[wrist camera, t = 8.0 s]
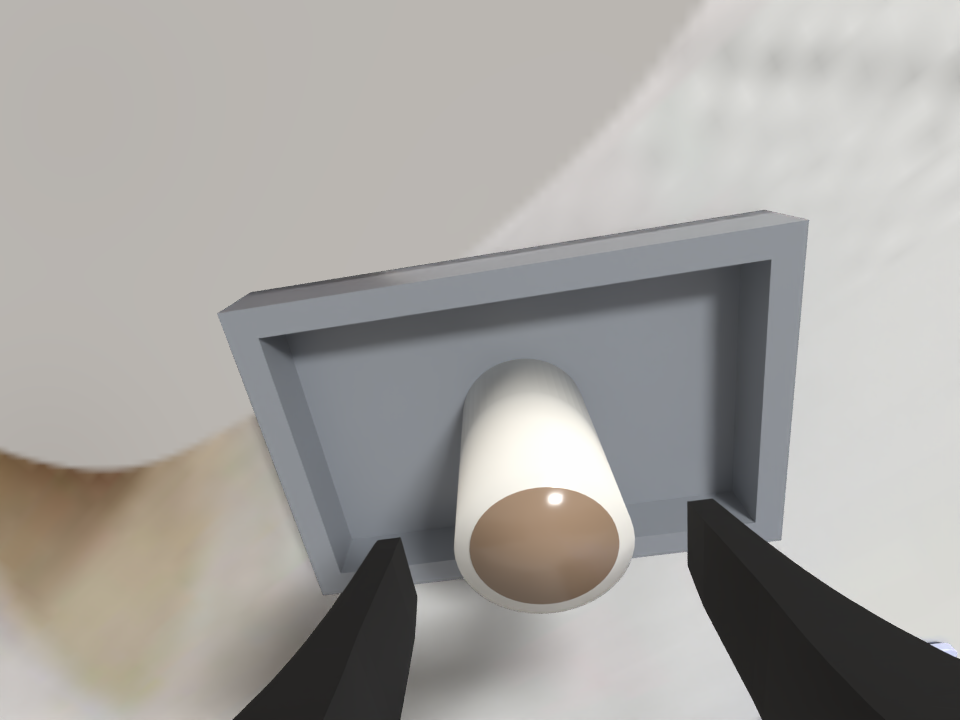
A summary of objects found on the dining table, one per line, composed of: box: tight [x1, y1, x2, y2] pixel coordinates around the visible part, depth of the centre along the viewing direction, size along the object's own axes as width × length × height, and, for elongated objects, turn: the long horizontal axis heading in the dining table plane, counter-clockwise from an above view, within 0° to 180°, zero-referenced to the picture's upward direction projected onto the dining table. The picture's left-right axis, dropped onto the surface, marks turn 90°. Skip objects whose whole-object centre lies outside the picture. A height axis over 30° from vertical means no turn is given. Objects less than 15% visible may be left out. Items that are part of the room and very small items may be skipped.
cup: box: [454, 359, 635, 614], centre depth 16 cm, size 5×5×7 cm
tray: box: [218, 210, 809, 595], centre depth 19 cm, size 12×18×2 cm, turn 99°
